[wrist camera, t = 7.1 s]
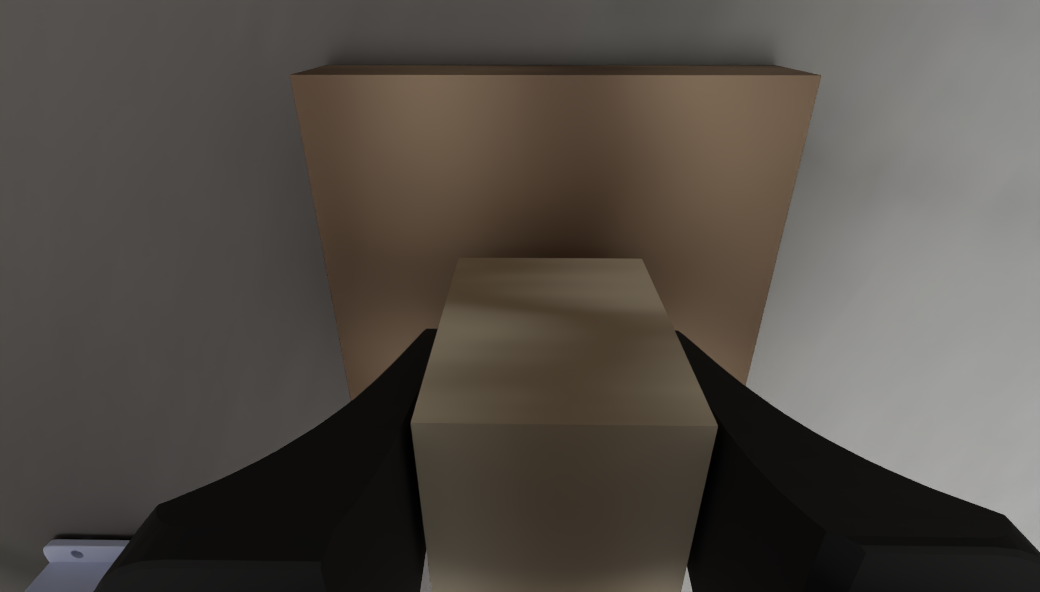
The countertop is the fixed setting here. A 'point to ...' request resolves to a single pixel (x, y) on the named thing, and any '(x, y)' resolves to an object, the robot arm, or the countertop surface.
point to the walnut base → (550, 186)
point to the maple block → (559, 432)
